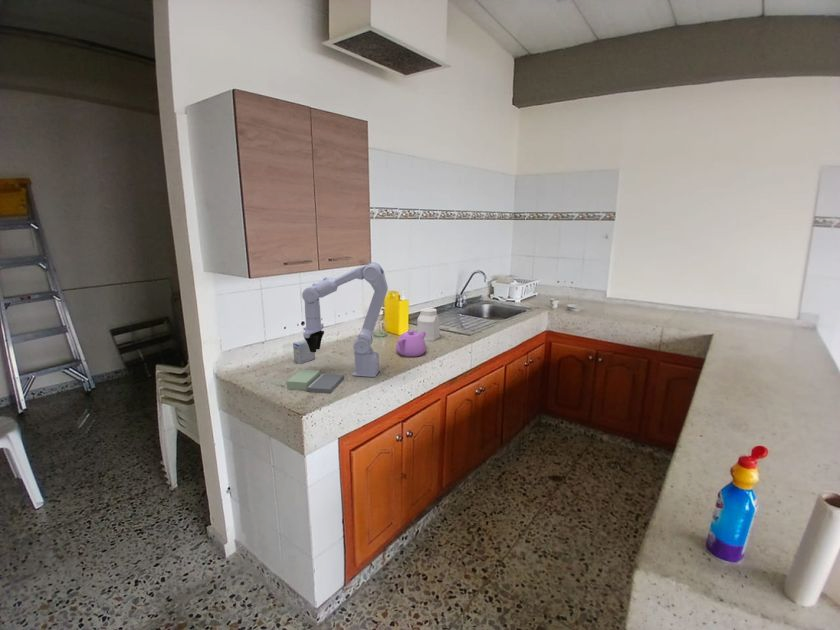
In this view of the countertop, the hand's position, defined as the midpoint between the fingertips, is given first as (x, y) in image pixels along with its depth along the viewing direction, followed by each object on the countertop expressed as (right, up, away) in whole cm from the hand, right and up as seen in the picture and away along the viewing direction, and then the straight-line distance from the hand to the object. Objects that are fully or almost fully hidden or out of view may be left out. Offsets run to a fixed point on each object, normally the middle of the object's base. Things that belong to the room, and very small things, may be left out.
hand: (315, 350), depth 166 cm
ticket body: (+6, -12, -10) cm, 17 cm away
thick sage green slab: (-2, -12, -8) cm, 14 cm away
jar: (+46, +2, +50) cm, 68 cm away
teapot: (+38, -3, +27) cm, 47 cm away
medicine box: (-9, -6, +17) cm, 20 cm away
